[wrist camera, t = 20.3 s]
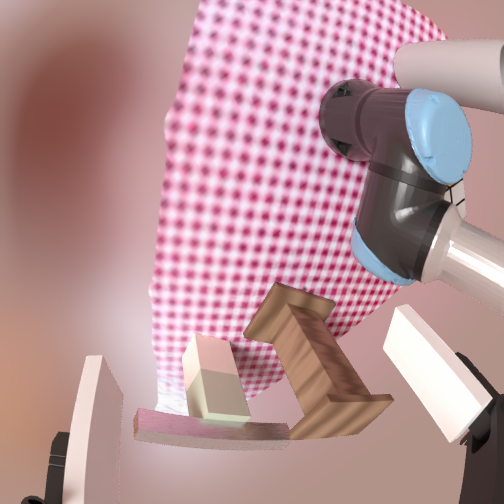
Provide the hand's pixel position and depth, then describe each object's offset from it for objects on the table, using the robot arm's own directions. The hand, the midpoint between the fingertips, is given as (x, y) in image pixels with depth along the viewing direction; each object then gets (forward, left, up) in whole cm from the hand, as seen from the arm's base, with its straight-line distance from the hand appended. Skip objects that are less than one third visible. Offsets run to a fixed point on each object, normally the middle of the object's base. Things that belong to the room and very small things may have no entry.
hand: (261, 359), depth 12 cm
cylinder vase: (-43, -20, -39) cm, 62 cm away
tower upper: (+3, +38, -28) cm, 47 cm away
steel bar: (+3, +37, -18) cm, 42 cm away
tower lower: (+3, +38, -38) cm, 54 cm away
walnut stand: (-17, +33, -38) cm, 53 cm away
